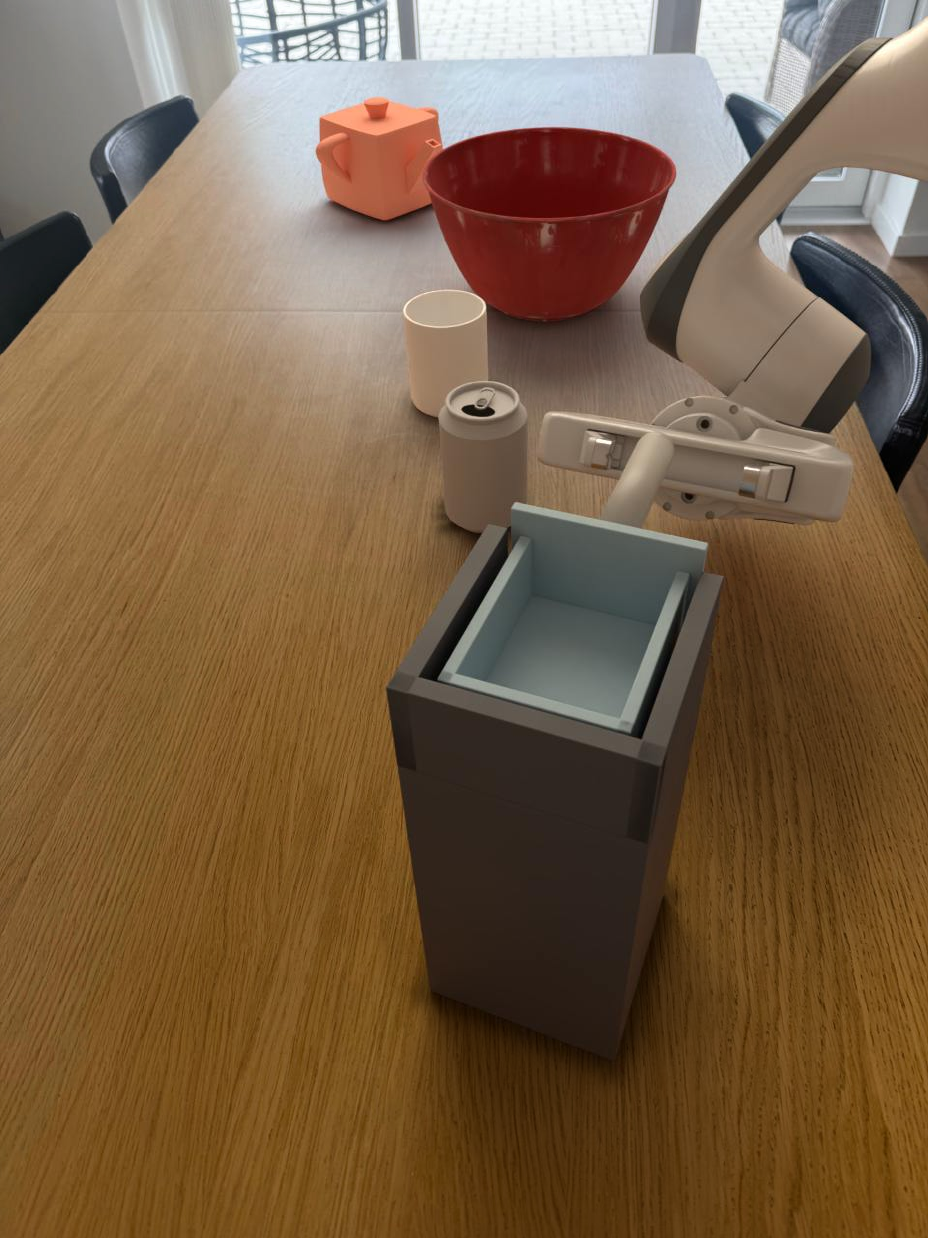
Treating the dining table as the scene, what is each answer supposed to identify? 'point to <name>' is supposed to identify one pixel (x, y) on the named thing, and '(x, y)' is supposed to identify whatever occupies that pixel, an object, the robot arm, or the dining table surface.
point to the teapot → (378, 156)
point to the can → (483, 454)
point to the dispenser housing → (539, 826)
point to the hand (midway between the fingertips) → (673, 468)
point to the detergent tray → (585, 607)
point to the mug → (444, 345)
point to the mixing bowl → (548, 215)
